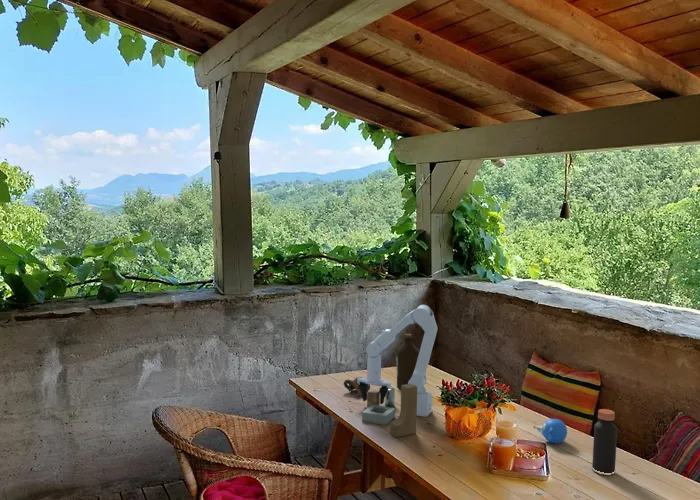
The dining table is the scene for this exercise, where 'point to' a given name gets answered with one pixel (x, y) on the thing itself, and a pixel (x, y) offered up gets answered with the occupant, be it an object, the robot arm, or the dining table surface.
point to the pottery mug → (354, 385)
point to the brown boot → (406, 412)
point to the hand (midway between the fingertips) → (373, 401)
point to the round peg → (390, 397)
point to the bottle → (605, 442)
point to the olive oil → (406, 361)
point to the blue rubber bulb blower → (553, 430)
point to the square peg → (373, 398)
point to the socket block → (378, 414)
